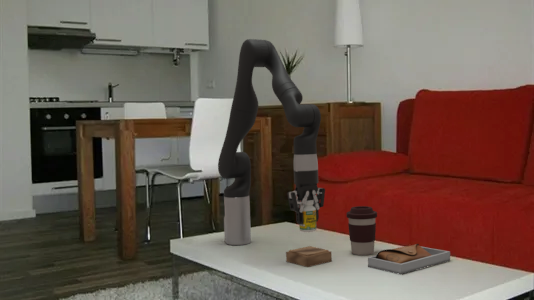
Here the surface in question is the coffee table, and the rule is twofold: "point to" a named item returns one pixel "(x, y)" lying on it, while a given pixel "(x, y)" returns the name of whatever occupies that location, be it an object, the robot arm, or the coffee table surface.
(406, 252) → the brown elongated piece
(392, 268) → the tray
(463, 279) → the coffee table surface
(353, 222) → the coffee cup
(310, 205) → the supplement bottle
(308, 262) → the walnut base
